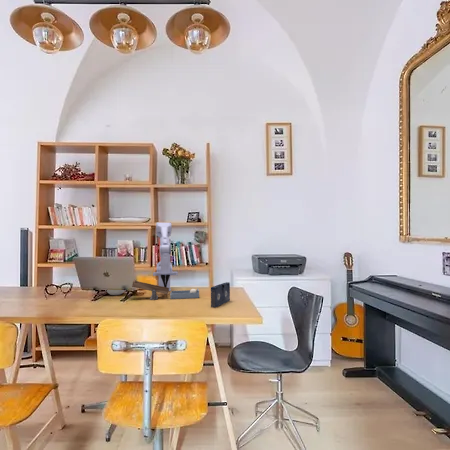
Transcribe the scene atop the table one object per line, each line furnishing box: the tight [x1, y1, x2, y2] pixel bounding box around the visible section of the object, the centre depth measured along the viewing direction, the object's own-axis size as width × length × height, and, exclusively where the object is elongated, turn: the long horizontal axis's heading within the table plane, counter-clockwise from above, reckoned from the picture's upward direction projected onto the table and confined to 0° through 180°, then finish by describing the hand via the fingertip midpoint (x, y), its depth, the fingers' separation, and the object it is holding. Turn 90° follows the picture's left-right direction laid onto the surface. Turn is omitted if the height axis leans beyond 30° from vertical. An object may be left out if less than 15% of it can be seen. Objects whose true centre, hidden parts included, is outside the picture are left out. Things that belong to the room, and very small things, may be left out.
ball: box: [189, 288, 197, 293], centre depth 197 cm, size 4×4×4 cm
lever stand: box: [149, 289, 159, 301], centre depth 194 cm, size 11×4×6 cm, turn 8°
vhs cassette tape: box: [210, 281, 231, 309], centre depth 178 cm, size 18×3×10 cm, turn 154°
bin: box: [169, 287, 200, 300], centre depth 196 cm, size 9×16×4 cm, turn 98°
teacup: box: [106, 290, 125, 296], centre depth 206 cm, size 14×11×8 cm
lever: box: [131, 279, 170, 295], centre depth 198 cm, size 15×20×3 cm
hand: (165, 287), depth 204 cm, fingers closed, pressing on lever
